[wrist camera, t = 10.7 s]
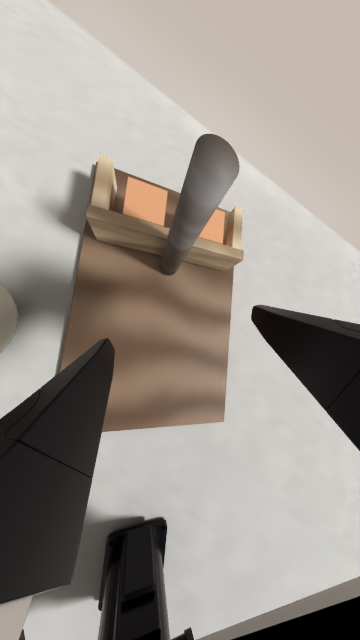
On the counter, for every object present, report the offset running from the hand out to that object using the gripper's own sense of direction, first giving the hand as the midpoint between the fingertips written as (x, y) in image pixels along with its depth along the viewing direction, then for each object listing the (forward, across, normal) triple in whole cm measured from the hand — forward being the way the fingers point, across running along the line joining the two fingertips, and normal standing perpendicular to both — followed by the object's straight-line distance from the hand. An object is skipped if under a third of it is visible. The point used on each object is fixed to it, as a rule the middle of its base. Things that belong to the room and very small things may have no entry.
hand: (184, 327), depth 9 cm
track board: (+10, +1, +3) cm, 11 cm away
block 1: (+15, +1, -6) cm, 16 cm away
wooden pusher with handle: (+14, -2, -4) cm, 15 cm away
